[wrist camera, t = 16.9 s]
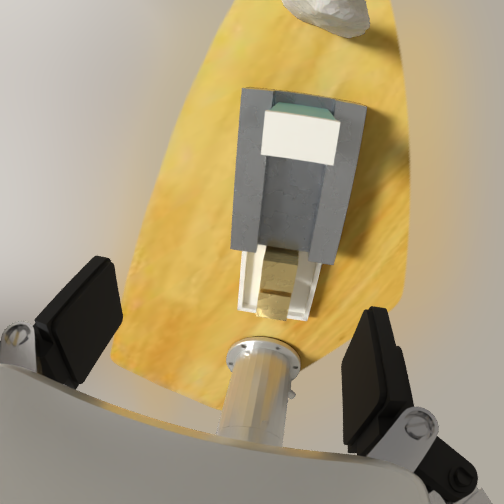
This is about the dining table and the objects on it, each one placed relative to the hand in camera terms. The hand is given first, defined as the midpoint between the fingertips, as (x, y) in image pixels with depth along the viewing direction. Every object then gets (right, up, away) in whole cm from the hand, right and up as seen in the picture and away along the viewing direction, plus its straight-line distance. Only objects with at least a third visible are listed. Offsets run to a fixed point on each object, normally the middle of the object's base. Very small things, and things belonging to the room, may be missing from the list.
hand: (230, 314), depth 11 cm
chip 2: (+4, -3, +32) cm, 32 cm away
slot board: (+6, +11, +24) cm, 27 cm away
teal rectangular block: (+6, +16, +19) cm, 25 cm away
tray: (+4, -1, +32) cm, 32 cm away
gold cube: (+4, +1, +29) cm, 30 cm away
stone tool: (+8, +26, +15) cm, 31 cm away
